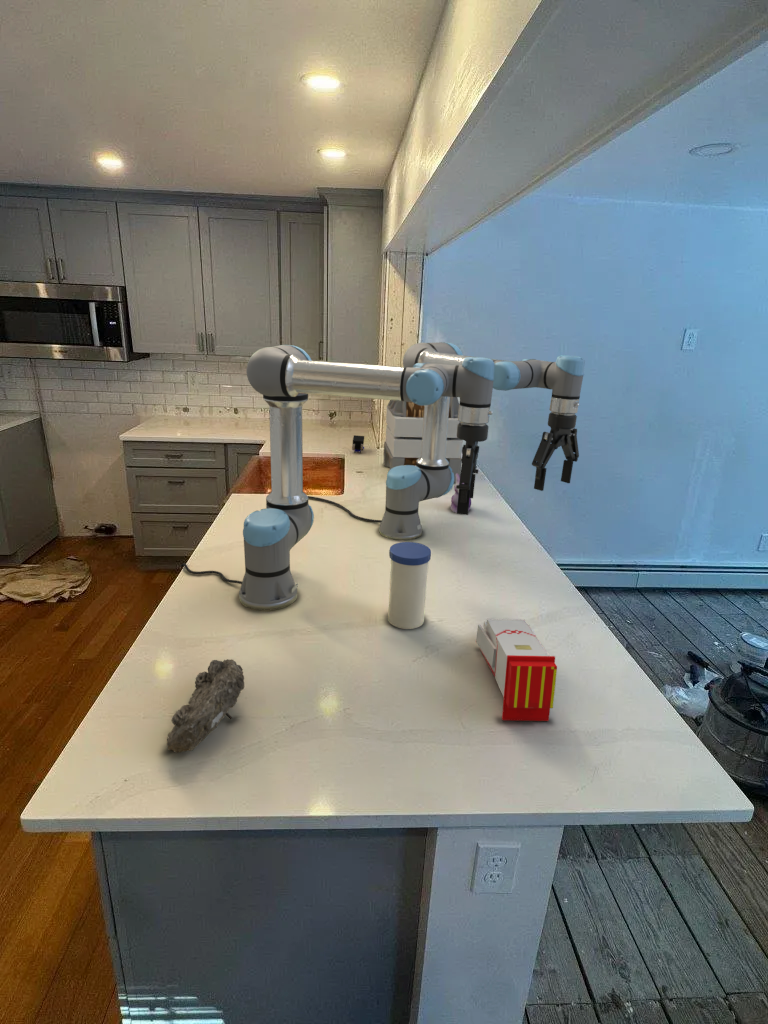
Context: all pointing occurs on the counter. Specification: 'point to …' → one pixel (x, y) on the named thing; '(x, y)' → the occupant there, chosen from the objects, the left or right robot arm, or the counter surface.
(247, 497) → the counter surface
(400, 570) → the jar
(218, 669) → the fossil
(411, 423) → the light grey boxy frame
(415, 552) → the lid
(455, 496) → the figurine
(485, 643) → the toy
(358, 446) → the figurine character
